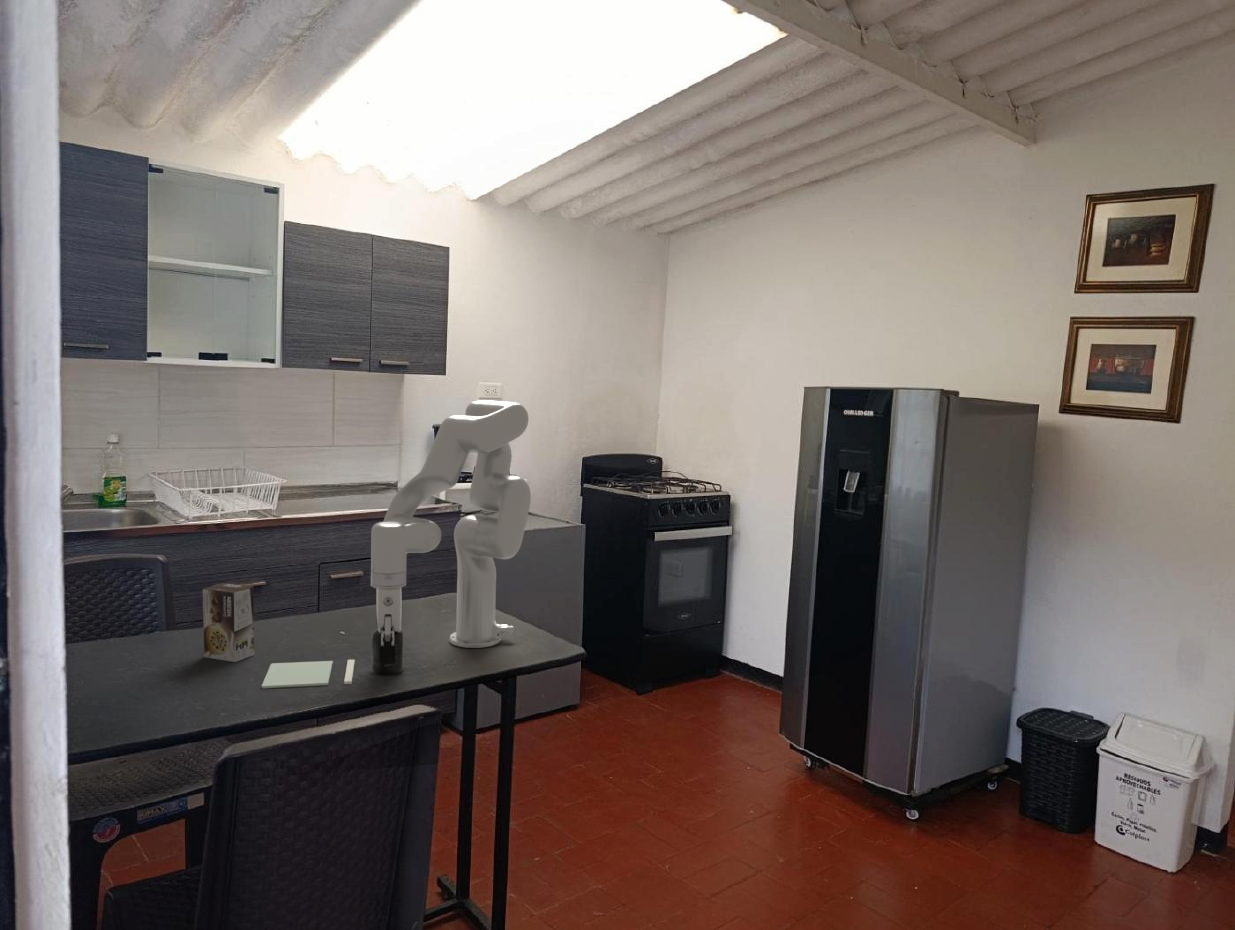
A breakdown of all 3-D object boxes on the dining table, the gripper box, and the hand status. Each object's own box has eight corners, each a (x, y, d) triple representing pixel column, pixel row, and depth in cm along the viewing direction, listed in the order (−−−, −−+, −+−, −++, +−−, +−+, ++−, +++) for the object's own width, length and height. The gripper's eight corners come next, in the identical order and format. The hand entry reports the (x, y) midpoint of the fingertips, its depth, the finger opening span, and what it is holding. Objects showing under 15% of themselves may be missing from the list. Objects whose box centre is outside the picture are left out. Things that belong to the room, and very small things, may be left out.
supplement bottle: (407, 667, 191) (408, 615, 190) (396, 677, 184) (397, 623, 183) (378, 664, 191) (378, 613, 190) (366, 675, 185) (366, 621, 183)
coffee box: (255, 654, 195) (255, 586, 193) (234, 663, 189) (234, 592, 187) (224, 649, 198) (223, 581, 196) (202, 657, 192) (201, 587, 190)
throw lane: (354, 662, 193) (354, 659, 193) (351, 683, 179) (351, 681, 179) (271, 665, 188) (271, 663, 188) (261, 688, 175) (261, 685, 175)
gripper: (406, 587, 178) (405, 670, 180) (405, 569, 195) (404, 644, 197) (369, 588, 176) (368, 671, 178) (371, 569, 193) (371, 645, 195)
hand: (387, 656), depth 187 cm, fingers closed on supplement bottle, 6 cm apart
